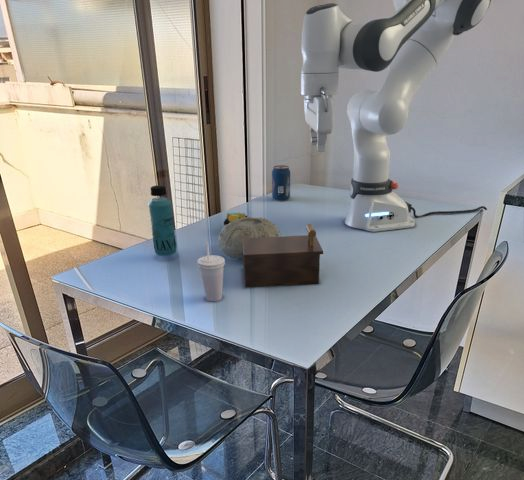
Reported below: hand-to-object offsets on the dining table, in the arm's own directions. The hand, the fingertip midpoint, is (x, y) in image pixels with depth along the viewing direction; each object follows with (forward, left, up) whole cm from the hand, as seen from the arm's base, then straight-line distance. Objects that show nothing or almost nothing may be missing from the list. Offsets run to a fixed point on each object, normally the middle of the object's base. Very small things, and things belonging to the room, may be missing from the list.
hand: (317, 148), depth 127 cm
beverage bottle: (+42, -6, -29) cm, 51 cm away
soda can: (+3, -62, -29) cm, 69 cm away
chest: (+11, +12, -29) cm, 33 cm away
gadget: (+21, -28, -29) cm, 46 cm away
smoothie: (+28, +23, -29) cm, 47 cm away
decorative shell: (+18, -4, -29) cm, 35 cm away
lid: (+11, +12, -21) cm, 27 cm away
